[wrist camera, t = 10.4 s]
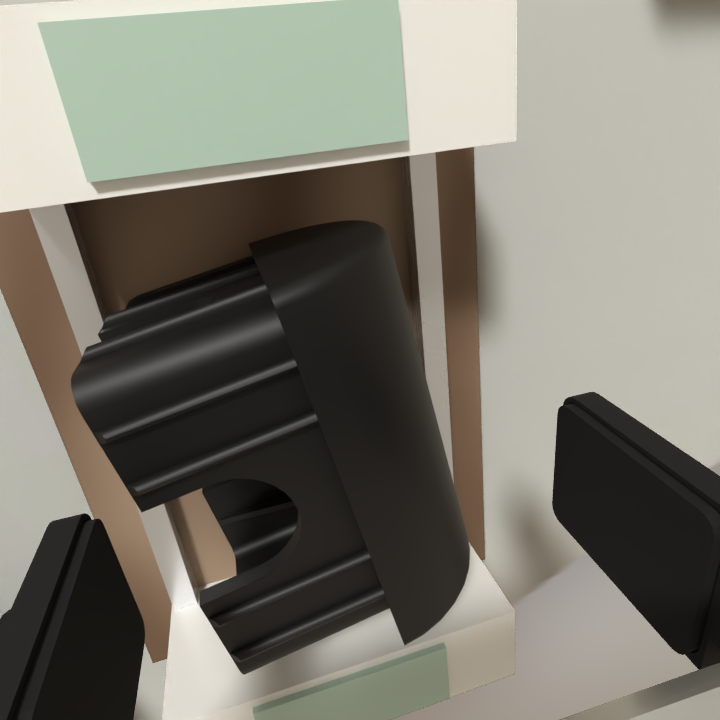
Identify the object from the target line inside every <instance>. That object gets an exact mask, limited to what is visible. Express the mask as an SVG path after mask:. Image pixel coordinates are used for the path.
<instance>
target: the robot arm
mask: <svg viewBox="0 0 720 720" xmlns="http://www.w3.org/2000/svg"><path fill="white" fill-rule="evenodd" d="M552 505H553V511H554V513H555V516H556V517H557V519H558V520H559V522H560V523H561V524H562V525H563V526H564V527H565V529H566V530H567V531H568V532H569V533H570V534H571V535H572V536H573V538H574V539H575V540H576V541H577V542H578V543H579V544H580V545H581V547H582V548H583V549H584V550H585V551H586V552H587V553H588V554H589V556H590V557H591V558H592V559H593V560H594V561H595V562H596V563H597V565H599V567H600V568H601V569H602V570H603V571H604V572H605V573H606V575H607V576H608V577H609V578H610V579H611V580H612V582H614V584H615V585H616V586H617V587H618V588H619V589H620V590H621V591H622V593H623V594H624V595H625V596H626V597H627V598H628V600H629V601H630V602H631V603H632V604H633V605H634V606H635V607H636V609H637V610H638V611H639V612H640V613H641V614H642V615H643V616H644V617H645V619H646V620H647V621H648V622H649V623H650V624H651V625H652V627H653V628H654V629H655V630H656V631H657V632H658V633H659V634H660V636H661V637H662V638H663V639H664V640H665V641H666V642H667V643H668V645H669V646H670V647H671V648H672V649H673V650H674V651H676V652H677V653H679V654H682V655H683V654H685V655H686V656H687V657H688V658H689V659H690V660H691V662H692V663H693V664H694V665H695V666H696V667H697V668H698V669H699V670H697V671H695V672H692V673H689V674H686V675H683V676H681V677H678V678H675V679H672V680H669V681H667V682H664V683H661V684H658V685H655V686H653V687H650V688H647V689H644V690H641V691H639V692H636V693H633V694H630V695H628V696H625V697H622V698H619V699H616V700H613V701H611V702H608V703H605V704H602V705H599V706H597V707H594V708H591V709H588V710H585V711H583V712H580V713H577V714H574V715H572V716H569V717H566V718H564V719H560V720H720V476H719V475H717V474H716V473H714V472H713V471H711V470H710V469H708V468H707V467H706V466H704V465H703V464H701V463H700V462H698V461H697V460H695V459H694V458H692V457H691V456H689V455H688V454H686V453H685V452H683V451H682V450H680V449H679V448H677V447H676V446H674V445H673V444H671V443H670V442H669V441H667V440H666V439H664V438H663V437H661V436H660V435H658V434H657V433H655V432H654V431H652V430H651V429H649V428H648V427H646V426H645V425H643V424H642V423H640V422H639V421H637V420H636V419H634V418H633V417H631V416H630V415H629V414H627V413H626V412H624V411H623V410H621V409H620V408H618V407H617V406H615V405H614V404H612V403H611V402H609V401H608V400H606V399H605V398H603V397H602V396H600V395H599V394H597V393H595V392H589V393H585V394H580V395H576V396H572V397H568V398H567V399H565V401H564V404H563V406H561V407H560V408H559V410H558V417H557V434H556V450H555V467H554V484H553V501H552ZM144 643H145V626H144V621H143V618H142V615H141V613H140V611H139V608H138V606H137V603H136V601H135V599H134V596H133V594H132V591H131V589H130V587H129V584H128V582H127V579H126V577H125V575H124V572H123V570H122V567H121V565H120V563H119V560H118V558H117V555H116V553H115V551H114V548H113V546H112V543H111V541H110V539H109V536H108V534H107V531H106V529H105V527H104V524H103V522H102V521H101V520H100V519H94V520H91V518H90V516H89V515H88V514H80V515H76V516H72V517H68V518H64V519H60V520H55V521H52V522H51V523H50V524H49V525H48V527H47V529H46V531H45V533H44V536H43V538H42V540H41V542H40V545H39V547H38V549H37V552H36V554H35V556H34V558H33V561H32V563H31V565H30V567H29V570H28V572H27V574H26V577H25V579H24V581H23V583H22V586H21V588H20V590H19V592H18V595H17V597H16V599H15V601H14V604H13V606H12V608H11V610H8V611H7V612H6V613H5V614H4V615H3V616H2V617H1V619H0V720H133V717H134V711H135V704H136V697H137V690H138V683H139V677H140V670H141V663H142V656H143V649H144Z"/></svg>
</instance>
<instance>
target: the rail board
mask: <svg viewBox="0 0 720 720" xmlns="http://www.w3.org/2000/svg"><path fill="white" fill-rule="evenodd" d="M435 155H436V173H437V191H438V209H439V227H440V245H441V263H442V281H443V299H444V317H445V335H446V353H447V371H448V389H449V407H450V425H451V443H452V461H453V479H454V487H455V491H456V495H457V498H458V502H459V506H460V510H461V514H462V517H463V521H464V525H465V529H466V533H467V537H468V542H469V543H470V545H471V546H472V548H473V549H474V551H475V552H476V554H477V555H478V556H479V558H480V559H481V560H484V559H485V540H484V504H483V468H482V433H481V397H480V362H479V326H478V290H477V255H476V219H475V184H474V148H473V147H469V148H462V149H454V150H447V151H440V152H435ZM72 205H73V208H74V211H75V214H76V217H77V220H78V224H79V227H80V230H81V233H82V236H83V239H84V242H85V245H86V248H87V251H88V254H89V257H90V260H91V263H92V266H93V269H94V272H95V275H96V278H97V281H98V284H99V287H100V290H101V294H102V297H103V300H104V303H105V306H106V309H107V312H108V315H109V314H112V313H115V312H118V311H121V310H124V309H125V308H126V306H127V304H128V302H129V301H130V300H132V299H133V298H135V297H136V296H138V295H140V294H143V293H146V292H149V291H152V290H154V289H157V288H160V287H163V286H166V285H169V284H172V283H175V282H177V281H180V280H183V279H186V278H189V277H192V276H195V275H197V274H200V273H203V272H206V271H209V270H212V269H215V268H217V267H220V266H223V265H226V264H229V263H232V262H235V261H237V260H240V259H243V258H246V257H249V256H253V255H252V253H251V250H250V247H249V245H248V244H249V243H252V242H255V241H258V240H261V239H264V238H267V237H271V236H274V235H278V234H281V233H284V232H288V231H292V230H296V229H300V228H304V227H309V226H313V225H318V224H323V223H330V222H336V221H348V220H363V221H368V222H373V223H376V224H378V225H379V226H381V227H382V228H383V229H384V230H385V231H386V232H387V234H388V236H389V240H390V243H391V247H392V251H393V255H394V259H395V262H396V266H397V270H398V274H399V278H400V282H401V285H402V289H403V293H404V297H405V301H406V304H407V308H408V312H409V316H410V320H411V323H412V327H413V331H414V322H413V310H412V298H411V285H410V273H409V261H408V248H407V236H406V224H405V211H404V199H403V187H402V174H401V162H400V157H397V158H390V159H382V160H375V161H368V162H361V163H354V164H347V165H339V166H332V167H325V168H318V169H311V170H303V171H296V172H289V173H282V174H275V175H267V176H260V177H253V178H246V179H239V180H231V181H224V182H217V183H210V184H203V185H196V186H188V187H181V188H174V189H167V190H160V191H152V192H145V193H138V194H131V195H124V196H116V197H109V198H102V199H95V200H88V201H80V202H73V203H72ZM0 289H1V291H2V294H3V296H4V299H5V301H6V303H7V306H8V308H9V311H10V313H11V316H12V318H13V321H14V323H15V326H16V328H17V330H18V333H19V335H20V338H21V340H22V343H23V345H24V348H25V350H26V353H27V355H28V357H29V360H30V362H31V365H32V367H33V370H34V372H35V375H36V377H37V380H38V382H39V384H40V387H41V389H42V392H43V394H44V397H45V399H46V402H47V404H48V407H49V409H50V411H51V414H52V416H53V419H54V421H55V424H56V426H57V429H58V431H59V433H60V436H61V438H62V441H63V443H64V446H65V448H66V451H67V453H68V456H69V458H70V460H71V463H72V465H73V468H74V470H75V473H76V475H77V478H78V480H79V483H80V485H81V487H82V490H83V492H84V495H85V497H86V500H87V502H88V505H89V507H90V510H91V512H92V514H93V517H94V519H100V520H101V521H102V522H103V524H104V527H105V529H106V531H107V534H108V536H109V539H110V541H111V543H112V546H113V548H114V551H115V553H116V555H117V558H118V560H119V563H120V565H121V567H122V570H123V572H124V575H125V577H126V579H127V582H128V584H129V587H130V589H131V591H132V594H133V596H134V599H135V601H136V603H137V606H138V608H139V611H140V613H141V615H142V618H143V621H144V626H145V644H146V647H147V649H148V652H149V654H150V657H151V659H152V662H153V663H155V662H158V661H161V660H164V659H167V657H168V646H169V634H170V622H171V611H172V603H171V600H170V597H169V595H168V592H167V589H166V586H165V584H164V581H163V578H162V575H161V573H160V570H159V567H158V564H157V562H156V559H155V556H154V553H153V550H152V548H151V545H150V542H149V539H148V537H147V534H146V531H145V528H144V526H143V523H142V520H141V517H140V515H139V512H138V509H137V506H136V504H135V501H134V500H133V498H132V496H131V495H130V493H129V491H128V490H127V488H126V487H125V485H124V483H123V482H122V480H121V479H120V477H119V475H118V474H117V472H116V470H115V469H114V467H113V466H112V464H111V462H110V461H109V459H108V458H107V456H106V454H105V453H104V451H103V449H102V448H101V446H100V445H99V443H98V441H97V440H96V438H95V437H94V435H93V433H92V432H91V430H90V428H89V427H88V425H87V424H86V422H85V420H84V419H83V417H82V415H81V413H80V412H79V410H78V408H77V406H76V403H75V400H74V398H73V394H72V389H71V377H72V374H73V372H74V371H75V369H76V367H77V366H78V364H79V363H80V361H81V358H82V354H81V352H80V349H79V346H78V343H77V341H76V338H75V335H74V332H73V330H72V327H71V324H70V321H69V319H68V316H67V313H66V310H65V307H64V305H63V302H62V299H61V296H60V294H59V291H58V288H57V285H56V283H55V280H54V277H53V274H52V272H51V269H50V266H49V263H48V261H47V258H46V255H45V252H44V250H43V247H42V244H41V241H40V238H39V236H38V233H37V230H36V227H35V225H34V222H33V219H32V216H31V214H30V211H29V209H23V210H16V211H9V212H1V213H0ZM170 504H171V507H172V510H173V513H174V516H175V519H176V522H177V525H178V528H179V531H180V534H181V537H182V540H183V543H184V546H185V549H186V552H187V555H188V558H189V561H190V564H191V567H192V570H193V574H194V577H195V580H196V583H197V586H198V587H200V586H203V585H207V584H210V583H214V582H217V581H220V580H224V579H227V578H231V577H234V576H236V560H235V555H234V552H233V550H232V547H231V546H230V544H229V542H228V540H227V538H226V536H225V535H224V533H223V531H222V529H221V527H220V525H219V523H218V522H217V520H216V518H215V516H214V514H213V512H212V510H211V509H210V507H209V505H208V503H207V501H206V499H205V497H204V496H203V494H202V488H201V489H199V490H196V491H194V492H191V493H189V494H186V495H184V496H181V497H179V498H176V499H174V500H171V501H170Z"/></svg>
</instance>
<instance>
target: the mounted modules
mask: <svg viewBox="0 0 720 720" xmlns="http://www.w3.org/2000/svg"><path fill="white" fill-rule="evenodd" d="M516 99H517V0H76V1H61V2H46V3H31V4H16V5H1V6H0V213H1V212H9V211H16V210H23V209H30V208H37V207H45V206H52V205H59V204H66V203H73V202H80V201H88V200H95V199H102V198H109V197H116V196H124V195H131V194H138V193H145V192H152V191H160V190H167V189H174V188H181V187H188V186H196V185H203V184H210V183H217V182H224V181H231V180H239V179H246V178H253V177H260V176H267V175H275V174H282V173H289V172H296V171H303V170H311V169H318V168H325V167H332V166H339V165H347V164H354V163H361V162H368V161H375V160H382V159H390V158H397V157H404V156H411V155H418V154H426V153H433V152H440V151H447V150H454V149H462V148H469V147H476V146H483V145H490V144H497V143H505V142H512V141H516ZM469 546H470V563H469V570H468V574H467V577H466V581H465V584H464V586H463V588H462V590H461V592H460V594H459V596H458V598H457V600H456V602H455V603H454V605H453V606H452V607H451V608H450V610H449V611H448V612H447V613H446V615H445V616H444V617H443V618H442V620H440V621H439V622H438V623H437V624H436V625H435V626H433V627H432V628H431V629H430V630H429V631H428V632H426V633H425V634H424V635H422V636H421V637H419V638H417V639H415V640H414V641H412V642H410V643H409V644H407V645H405V646H404V643H403V641H402V638H401V636H400V633H399V631H398V628H397V626H396V623H395V621H394V618H393V616H392V613H391V610H390V608H389V609H387V610H385V611H383V612H381V613H378V614H376V615H374V616H372V617H370V618H367V619H365V620H363V621H361V622H359V623H356V624H354V625H352V626H350V627H348V628H346V629H343V630H341V631H339V632H337V633H335V634H332V635H330V636H328V637H326V638H324V639H322V640H319V641H317V642H315V643H313V644H311V645H308V646H306V647H304V648H302V649H300V650H298V651H295V652H293V653H291V654H289V655H287V656H284V657H282V658H280V659H278V660H276V661H274V662H271V663H269V664H267V665H265V666H263V667H260V668H258V669H256V670H254V671H252V672H249V673H247V674H245V675H244V674H242V673H241V672H240V671H239V669H238V667H237V666H236V664H235V663H234V661H233V659H232V658H231V656H230V655H229V653H228V651H227V650H226V648H225V646H224V645H223V643H222V642H221V640H220V638H219V637H218V635H217V634H216V632H215V630H214V629H213V627H212V625H211V624H210V622H209V621H208V619H207V617H206V616H205V614H204V613H203V611H202V609H201V608H200V606H199V602H200V591H202V590H204V589H206V588H208V587H211V586H213V585H215V584H218V583H220V582H222V581H225V580H227V579H229V578H227V579H224V580H220V581H217V582H214V583H210V584H207V585H203V586H200V587H198V602H197V604H195V605H192V606H189V607H185V608H182V609H179V610H175V611H174V608H173V606H172V611H171V622H170V634H169V646H168V657H167V669H166V681H165V692H164V704H163V716H162V720H391V719H394V718H397V717H400V716H402V715H405V714H407V713H411V712H413V711H416V710H418V709H421V708H424V707H427V706H430V705H432V704H435V703H438V702H441V701H443V700H446V699H449V698H450V697H453V696H456V695H458V694H461V693H464V692H466V691H469V690H472V689H475V688H477V687H480V686H483V685H486V684H488V683H491V682H494V681H496V680H499V679H502V678H505V677H508V676H510V675H513V674H515V610H514V609H513V607H512V606H511V604H510V603H509V601H508V600H507V598H506V597H505V595H504V594H503V592H502V591H501V589H500V588H499V586H498V585H497V583H496V582H495V580H494V579H493V577H492V576H491V574H490V573H489V571H488V570H487V568H486V567H485V565H484V564H483V562H482V561H481V559H480V558H479V556H478V555H477V554H476V552H475V551H474V549H473V548H472V546H471V545H470V543H469ZM231 578H232V577H231Z"/></svg>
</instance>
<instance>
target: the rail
mask: <svg viewBox="0 0 720 720" xmlns="http://www.w3.org/2000/svg"><path fill="white" fill-rule="evenodd" d="M400 162H401V174H402V187H403V199H404V211H405V224H406V236H407V248H408V261H409V273H410V285H411V298H412V310H413V322H414V335H415V339H416V342H417V346H418V350H419V354H420V358H421V361H422V365H423V369H424V373H425V377H426V380H427V384H428V388H429V392H430V396H431V399H432V403H433V407H434V411H435V415H436V418H437V422H438V426H439V430H440V434H441V438H442V441H443V445H444V449H445V453H446V457H447V460H448V464H449V468H450V472H451V476H452V479H453V461H452V443H451V425H450V407H449V389H448V371H447V353H446V335H445V317H444V299H443V281H442V263H441V245H440V227H439V209H438V191H437V173H436V155H435V152H433V153H426V154H418V155H411V156H404V157H400ZM29 211H30V214H31V216H32V219H33V222H34V225H35V227H36V230H37V233H38V236H39V238H40V241H41V244H42V247H43V250H44V252H45V255H46V258H47V261H48V263H49V266H50V269H51V272H52V274H53V277H54V280H55V283H56V285H57V288H58V291H59V294H60V296H61V299H62V302H63V305H64V307H65V310H66V313H67V316H68V319H69V321H70V324H71V327H72V330H73V332H74V335H75V338H76V341H77V343H78V346H79V349H80V352H81V354H82V356H83V354H84V351H85V349H86V347H88V346H91V345H94V344H97V343H99V342H101V340H100V338H99V336H98V333H99V331H100V330H101V328H102V326H103V324H104V321H105V319H106V317H107V315H108V312H107V309H106V306H105V303H104V300H103V297H102V294H101V290H100V287H99V284H98V281H97V278H96V275H95V272H94V269H93V266H92V263H91V260H90V257H89V254H88V251H87V248H86V245H85V242H84V239H83V236H82V233H81V230H80V227H79V224H78V220H77V217H76V214H75V211H74V208H73V205H72V203H66V204H59V205H52V206H45V207H37V208H30V209H29ZM453 483H454V479H453ZM135 504H136V503H135ZM136 506H137V504H136ZM137 509H138V512H139V515H140V517H141V520H142V523H143V526H144V528H145V531H146V534H147V537H148V539H149V542H150V545H151V548H152V550H153V553H154V556H155V559H156V562H157V564H158V567H159V570H160V573H161V575H162V578H163V581H164V584H165V586H166V589H167V592H168V595H169V597H170V600H171V603H172V606H173V608H174V611H175V610H179V609H182V608H185V607H189V606H192V605H195V604H197V602H198V586H197V583H196V580H195V577H194V574H193V570H192V567H191V564H190V561H189V558H188V555H187V552H186V549H185V546H184V543H183V540H182V537H181V534H180V531H179V528H178V525H177V522H176V519H175V516H174V513H173V510H172V507H171V504H170V501H169V502H167V503H164V504H162V505H159V506H157V507H154V508H152V509H149V510H147V511H144V512H141V511H140V509H139V508H138V506H137Z"/></svg>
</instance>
